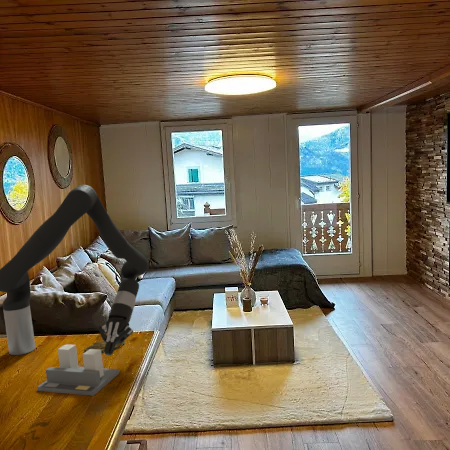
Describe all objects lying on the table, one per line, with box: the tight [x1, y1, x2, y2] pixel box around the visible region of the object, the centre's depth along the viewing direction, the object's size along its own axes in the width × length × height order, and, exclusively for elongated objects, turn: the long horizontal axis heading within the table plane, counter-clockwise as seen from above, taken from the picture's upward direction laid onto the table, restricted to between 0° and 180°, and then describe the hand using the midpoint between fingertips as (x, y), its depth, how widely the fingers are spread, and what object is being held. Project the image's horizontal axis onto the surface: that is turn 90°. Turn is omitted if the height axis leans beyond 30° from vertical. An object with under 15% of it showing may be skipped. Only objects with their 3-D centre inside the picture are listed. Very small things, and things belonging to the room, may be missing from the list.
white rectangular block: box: [57, 343, 80, 369], centre depth 147 cm, size 4×4×8 cm
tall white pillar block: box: [82, 349, 104, 378], centre depth 141 cm, size 4×4×8 cm
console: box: [36, 366, 121, 396], centre depth 143 cm, size 15×20×5 cm
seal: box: [84, 340, 126, 354], centre depth 170 cm, size 9×5×15 cm
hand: (107, 354), depth 149 cm, fingers closed
